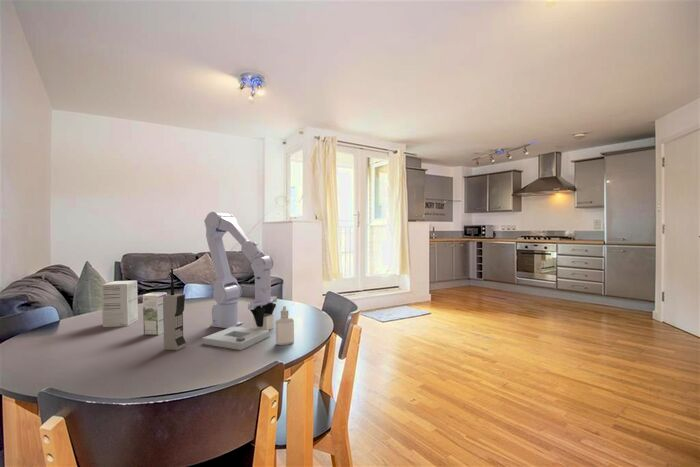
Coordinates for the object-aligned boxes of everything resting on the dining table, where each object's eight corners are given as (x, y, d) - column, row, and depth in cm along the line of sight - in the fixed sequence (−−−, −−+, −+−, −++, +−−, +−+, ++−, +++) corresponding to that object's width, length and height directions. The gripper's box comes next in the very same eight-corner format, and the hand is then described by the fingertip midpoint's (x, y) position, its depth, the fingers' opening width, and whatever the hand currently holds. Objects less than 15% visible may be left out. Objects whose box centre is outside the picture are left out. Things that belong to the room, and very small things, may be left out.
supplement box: (114, 321, 139) (113, 280, 139) (138, 319, 140) (137, 280, 140) (101, 327, 129) (100, 284, 129) (127, 326, 131) (127, 283, 131)
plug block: (253, 329, 123) (253, 315, 123) (260, 326, 127) (260, 312, 127) (266, 330, 121) (266, 316, 121) (273, 327, 125) (273, 313, 125)
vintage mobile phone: (178, 350, 102) (176, 269, 102) (163, 349, 103) (162, 269, 103) (186, 346, 106) (184, 267, 106) (172, 345, 107) (170, 267, 107)
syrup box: (168, 330, 124) (167, 291, 123) (157, 335, 118) (156, 294, 118) (154, 330, 124) (153, 291, 124) (142, 335, 118) (141, 294, 118)
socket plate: (202, 343, 108) (202, 335, 108) (233, 331, 121) (233, 324, 121) (241, 350, 102) (241, 340, 101) (269, 336, 114) (269, 328, 114)
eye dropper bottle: (292, 345, 105) (291, 307, 105) (274, 345, 105) (273, 307, 105) (295, 340, 109) (294, 304, 109) (278, 340, 109) (277, 304, 109)
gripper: (259, 292, 116) (259, 331, 116) (283, 285, 129) (283, 320, 129) (242, 291, 118) (243, 329, 119) (268, 284, 132) (268, 319, 132)
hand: (263, 324), depth 124 cm, fingers closed on plug block, 4 cm apart
